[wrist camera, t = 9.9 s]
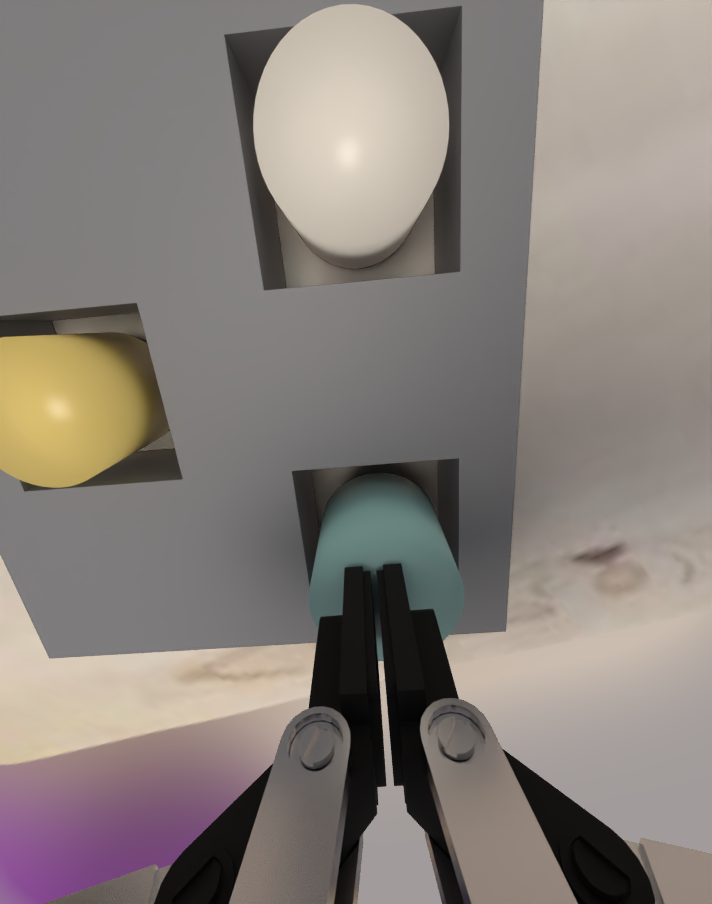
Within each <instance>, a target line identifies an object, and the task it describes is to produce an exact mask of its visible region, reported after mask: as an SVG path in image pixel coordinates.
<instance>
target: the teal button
mask: <svg viewBox="0 0 712 904" xmlns="http://www.w3.org/2000/svg"><path fill="white" fill-rule="evenodd" d="M398 563H401V565H402V570H403V575H404V580H405V586H406V591H407V596H408V601H409V606H410V610H421V609H433V610H434V612H435V615H436V619H437V622H438V626H439V629H440V633H441V637H442V640H444V639H445V638H446V637H447V636H448V635H449V634H450V633H451V632H452V631H453V629H454V628H455V626H456V625H457V623H458V621H459V619H460V617H461V615H462V611H463V607H464V600H465V592H464V586H463V581H462V578H461V576H460V573H459V571H458V568H457V566H456V563H455V561H454V558H453V556H452V553H451V551H450V548H449V546H448V543H447V541H446V538H445V536H444V533H443V531H442V528H441V525H440V523H439V520H438V518H437V515H436V513H435V510H434V508H433V505H432V503H431V501H430V499H429V498H428V496H427V495H426V493H425V492H424V491H423V490H422V489H421V488H420V487H419V486H418V485H416V484H415V483H413V482H412V481H410V480H408V479H406V478H404V477H401V476H398V475H394V474H389V473H371V474H366V475H362V476H359V477H356V478H354V479H352V480H350V481H348V482H346V483H345V484H344V485H342V486H341V487H340V488H339V489H338V490H337V491H335V493H334V494H333V495H332V496H331V498H330V500H329V501H328V503H327V505H326V508H325V510H324V515H323V519H322V525H321V530H320V535H319V541H318V546H317V551H316V557H315V562H314V567H313V573H312V578H311V583H310V589H309V598H308V599H309V609H310V613H311V616H312V618H313V621H314V623H315V625H316V626H317V628H318V627H319V620H320V617H322V616H337V615H342V613H343V590H344V569H345V567H358V566H363V571H370V573H371V585H372V596H373V607H374V619H375V630H376V642H377V655H378V661H384V659H383V647H382V635H381V623H380V610H379V598H378V586H377V574H376V570H383V565H385V564H398Z"/></svg>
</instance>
